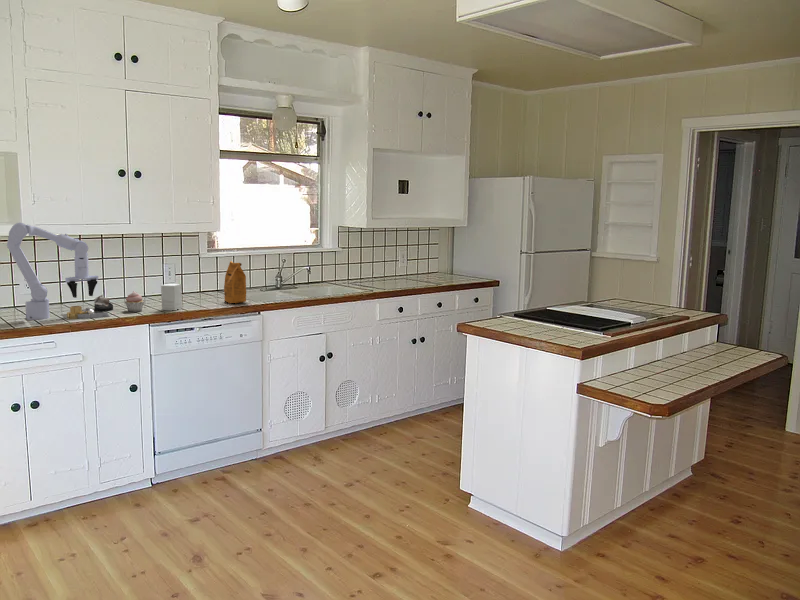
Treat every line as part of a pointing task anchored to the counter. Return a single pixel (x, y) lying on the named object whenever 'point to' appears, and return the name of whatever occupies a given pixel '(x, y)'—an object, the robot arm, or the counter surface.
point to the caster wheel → (102, 304)
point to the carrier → (88, 314)
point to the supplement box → (171, 296)
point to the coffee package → (235, 284)
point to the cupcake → (134, 302)
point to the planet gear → (75, 311)
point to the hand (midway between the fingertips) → (82, 296)
